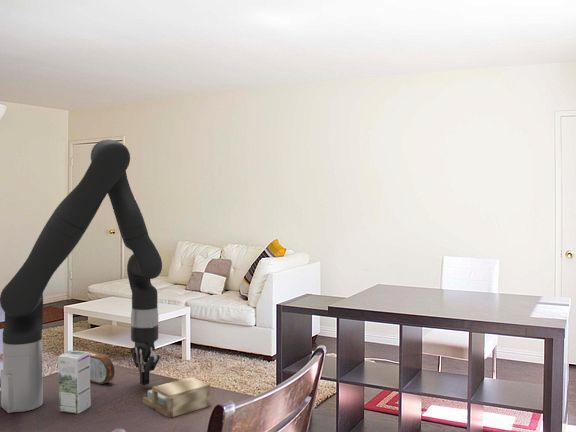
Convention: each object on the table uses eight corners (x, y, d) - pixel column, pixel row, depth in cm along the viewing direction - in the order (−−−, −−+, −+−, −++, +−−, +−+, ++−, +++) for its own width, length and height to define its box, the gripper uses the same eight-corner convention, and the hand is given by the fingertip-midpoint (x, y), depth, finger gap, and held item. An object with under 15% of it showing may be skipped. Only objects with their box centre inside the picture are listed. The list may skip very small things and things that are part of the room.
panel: (177, 415, 145) (176, 406, 145) (147, 399, 156) (147, 390, 156) (203, 407, 151) (203, 398, 150) (173, 392, 162) (173, 384, 162)
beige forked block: (169, 417, 142) (169, 395, 142) (142, 403, 152) (142, 382, 152) (209, 405, 151) (209, 384, 150) (181, 392, 160) (181, 372, 160)
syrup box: (91, 406, 150) (91, 351, 149) (77, 414, 144) (76, 357, 144) (72, 404, 151) (72, 349, 151) (57, 412, 146) (57, 355, 145)
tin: (115, 384, 167) (115, 355, 167) (106, 387, 164) (106, 358, 164) (81, 375, 175) (81, 347, 175) (72, 378, 172) (72, 350, 172)
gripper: (121, 321, 165) (121, 381, 166) (144, 329, 155) (144, 393, 156) (145, 317, 170) (145, 375, 171) (168, 325, 160) (168, 387, 161)
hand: (144, 384), depth 163 cm, fingers closed
